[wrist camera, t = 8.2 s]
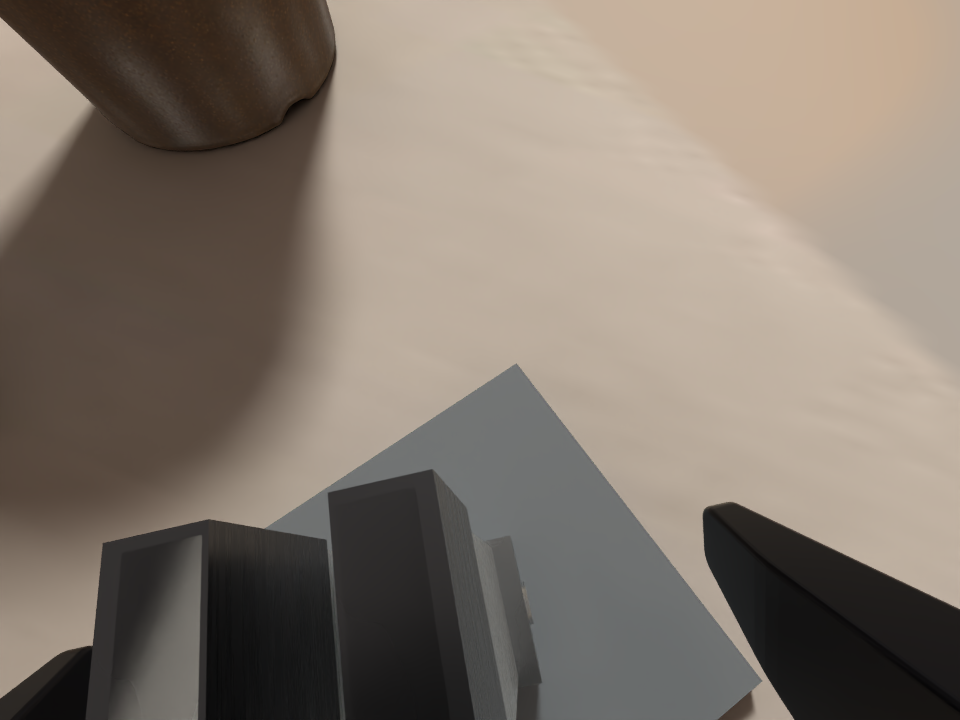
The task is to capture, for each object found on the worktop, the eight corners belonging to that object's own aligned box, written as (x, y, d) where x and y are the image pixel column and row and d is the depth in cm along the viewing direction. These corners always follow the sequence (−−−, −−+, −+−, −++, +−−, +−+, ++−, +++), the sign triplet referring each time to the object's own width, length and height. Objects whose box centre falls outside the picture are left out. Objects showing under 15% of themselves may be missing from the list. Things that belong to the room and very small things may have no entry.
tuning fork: (542, 663, 13) (625, 1063, 2) (420, 691, 13) (-54, 1225, 2) (515, 540, 15) (487, 442, 4) (403, 566, 15) (45, 541, 4)
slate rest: (749, 675, 14) (762, 681, 13) (407, 966, 12) (399, 993, 11) (516, 372, 18) (516, 363, 17) (237, 556, 16) (223, 555, 15)
